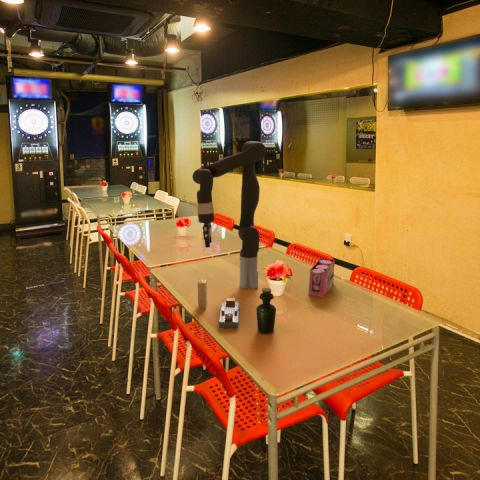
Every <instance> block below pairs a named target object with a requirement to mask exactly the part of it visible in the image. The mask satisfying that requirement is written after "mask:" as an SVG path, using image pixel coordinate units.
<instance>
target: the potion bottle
mask: <svg viewBox="0 0 480 480" xmlns="http://www.w3.org/2000/svg"><path fill="white" fill-rule="evenodd" d="M258 298H259V299H260V300H261V302H262V303H260V304H258V305H257V306H256V309H255V310H256V312H255V313H256V323H257V331H258V332H259V333H260V334H262V335H263V334H264V335H270V334H272V333H273V332H274V331H275V324H276V323H275V322H276V315H277V308H276V307H275V305H273V304H272V303H271V301H272V300H274V298H275V297H274V295H273V293H272V289H271V288H270V287H263V288H262V289H261V293H260V295H259V297H258Z"/></svg>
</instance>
